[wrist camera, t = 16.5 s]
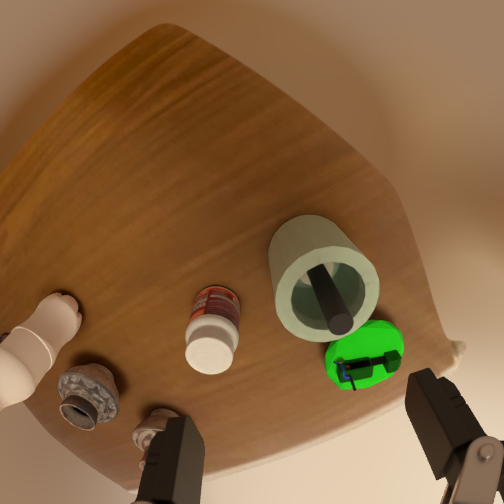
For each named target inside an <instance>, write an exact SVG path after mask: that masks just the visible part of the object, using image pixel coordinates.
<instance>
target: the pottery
mask: <svg viewBox="0 0 504 504" xmlns="http://www.w3.org/2000/svg"><path fill="white" fill-rule="evenodd" d="M57 389H58V392H59V394H60V396H61V398H62V400H63V402H62V404H61V406H60V412H61V414H62V416H63V417H64V418H65V420H67V421H68V422H69V423H70V424H72V425H74V426H75V427H77V428H80V429H83V430H93V429H94V428H95V426H96V423H97V422H109V421H112V420H113V419H115V418H116V417H117V415H118V412H119V406H120V399H119V394H118V390H117V388H116V385H115V384H114V377H113V374H112V373H111V372H110V371H109V370H108V369H107V368H106V367H104V366H102V365H100V364H96V363H90V364H87V365H79V366H74V367H72V368H70V369H68V370H66V371H65V372H64V373H63V374H62V375H61V376H60V377H59V378H58V381H57ZM169 417H179V415H178V414H177V413H175V412H173V411H171V410H169V409H156V410H154V411H152V413H151V416H150V417H147V418H145V419H144V420H143V421H142V422H140V424H139V425H138V426H137V427H136V428H135V430H134V431H133V433H132V439H133V441H134V443H135V444H136V446H137V447H138V448H139V449H140V450H141V451H142V452H144V453H145V454H144V456H143V458H142V460H141V461H140V463H139V467H140V468H141V469H142V470H143V469H144V465H145V464H146V463H145V461H146V457H147V455H148V449H149V445H150V441H151V440H152V438H153V437H154V436H155V434H156V433H157V431H165V428H166V423H167V420H168V418H169Z"/></svg>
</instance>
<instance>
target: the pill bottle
mask: <svg viewBox="0 0 504 504" xmlns="http://www.w3.org/2000/svg"><path fill="white" fill-rule="evenodd" d="M239 315H240V304H239V301H238V299H237V297H236V295H235V294H234V293H233V292H231V291H230V290H228V289H226V288H224V287H220V286H212V287H208V288H206V289H204V290H202V291H201V292H200V293H199V294H198V296H197V297H196V300H195V303H194V306H193V309H192V313H191V316H190V320H189V323H188V326H187V329H186V335H185V338H186V343H187V347H186V352H185V355H186V359H187V361H188V363H189V364H190V366H191V367H193V368H194V369H195V370H197V371H199V372H201V373H205V374H218V373H221V372H224V371H225V370H227V369H228V368H229V367H230V365H231V364H232V361H233V353H234V351H235V349H236V348H237V345H238V340H239Z"/></svg>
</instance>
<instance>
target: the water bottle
mask: <svg viewBox="0 0 504 504" xmlns="http://www.w3.org/2000/svg"><path fill="white" fill-rule="evenodd" d="M81 320H82V315H81V313H79V312H78V304H77V301H76V300H75V299H74V298H73V297H71V296H69V295H63V296H62V294H61V293H54V294H51V295H49V296H47V297H46V298H45V299H43V300H42V301H41V302H40V303H39V305H38V307H37V309H36V310H35V312H34V313H33V314H32V315H31V316H30V317H29V318H28V319H27V320H26V321H25V322H23V323H22V324H20V325H18V326H16V327H15V328H14V329H13V330H12V332H11V333H10V334H9V335H8V336H7V337H6V338H5V339H4V341H3V342H2V343H1V344H0V411H1V410H2V409H3V408H4V407H6V406H9V405H12V404H15V403H18V402H21V401H23V400H25V399H27V398H28V397H30V396H31V395H32V394H33V392H34V391H35V388H36V386H37V385H38V384H39V382H40V381H41V379H42V378H43V376H44V375H45V373H46V372H47V371H48V370H49V369H50V368H51V367H52V365H53V364H54V362H55V359H56V356H57V354H58V352H59V351H60V349H61V348H62V346H63V345H64V344H65V343H67V342H68V341H70V340H71V339H72V338H73V337H74V336H75V334H76V333H77V331H78V330H79V327H80V325H81Z"/></svg>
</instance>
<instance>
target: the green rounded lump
mask: <svg viewBox="0 0 504 504" xmlns="http://www.w3.org/2000/svg"><path fill="white" fill-rule="evenodd" d="M403 352H404V345H403V338H402V332H401V331H399V330H398V329H397V328H396V327H395V326H394V325H393V324H392V323H391V322H390V321H383V320H374V319H368V320H367V321H366V322H365V323H364V324H363V325H362V326H360V327H359V328H358V329H357V330H356V331H354V332H353V333H351V334H349V335H347V336H345V337H343V338H340V339H338V340H333V341H331V343H330V345H329V347H328V349H327V351H326V354H325V362H324V365H325V368H326V372H327V376H328V377H329V378H330V379H331V380H332V381H333V382H334V383H335V384H336V385H337V386H338V387H339V388H341V389H342V390H346V389H353V390H354V391H355V390H356V389H359V388H368V387H370V386H372V385H375V384H377V383H379V382H381V381H383V380H385V379H387V378H389V377H391V376H393V374H394V372H395V371H396V370H398V368H399V367H400V364H401V359H402V355H403Z"/></svg>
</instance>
